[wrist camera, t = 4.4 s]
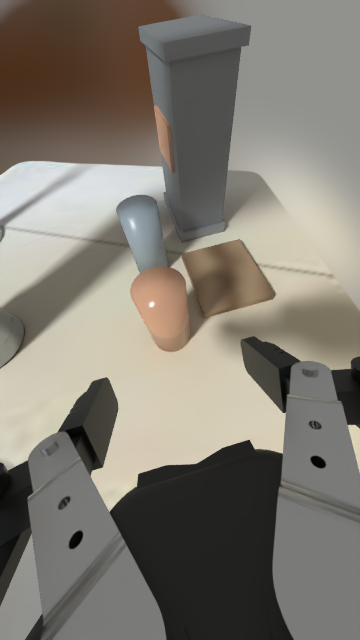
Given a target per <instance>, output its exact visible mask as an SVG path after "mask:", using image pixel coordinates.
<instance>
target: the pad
mask: <svg viewBox="0 0 360 640" xmlns="http://www.w3.org/2000/svg"><path fill="white" fill-rule="evenodd" d="M182 260H183V262H184V265H185V267H186V270H187V273H188V275H189V278H190V280H191V283H192V286H193V288H194V291H195V293H196V296H197V299H198V301H199V304H200V306H201V309H202V312H203V314H204V317H205V318H206V317H210V316H213V315H217V314H221V313H224V312H228V311H231V310H235V309H239V308H242V307H246V306H249V305H253V304H257V303H260V302H264V301H268V300H271V299H273V298H274V296H275V294H274V292H273V291H272V289H271V288H270V286H269V284H268V283H267V281H266V280H265V278H264V277H263V275H262V273H261V272H260V270H259V269H258V267H257V266H256V264H255V263H254V261H253V259H252V258H251V256H250V255H249V253H248V252H247V250H246V248H245V247H244V245H243V244H242V242H241V241H240V239H238V240H234V241H230V242H226V243H222V244H219V245H215V246H211V247H207V248H203V249H199V250H195V251H191V252H187V253H183V254H182Z"/></svg>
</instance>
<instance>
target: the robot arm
mask: <svg viewBox="0 0 360 640" xmlns="http://www.w3.org/2000/svg"><path fill="white" fill-rule="evenodd" d="M23 336H24V327H23V324H22V323H21V321H20V320H19V319H18V318H16V317H14V316H13V315H11V314H9V313H8V312H6V311H4V310H3V309H1V308H0V367H2V366H3V365H4V364H5V363H6V362H8V361H9V360H10V359H11V358H12V356H13V355H14V354H15V353H16V351H17V350H18V349H19V347H20V345H21V343H22V340H23ZM241 348H242V354H243V360H244V365H245V368H246V370H247V372H248V374H249V375H250V376H251V377H252V378H253V379H254V380H255V381H256V383H257V384H258V385H259V386H260V387H261V388H262V389H263V391H264V392H265V393H266V394H267V395H268V396H269V397H270V398H271V400H272V401H273V402H274V403H275V404H276V405H277V406H278V408H279V409H280V410H281V411H282V412H283V413H285V412H286V420H285V434H284V448H283V454H282V453H278V452H275V451H270V450H263V449H254V447H253V445H252V444H251V442H250V440H247V441H244V442H240V443H237V444H234V445H231V446H227V447H224V448H222V449H220V450H219V451H217V452H215V453H214V454H212V455H210V456H209V457H207V458H206V459H204V460H202V461H201V462H199V463H197V464H190V465H166V466H163V467H159V468H156V469H153V470H150V471H146V472H143V473H140V474H138V483H137V487H135V488H134V489H132V490H131V491H130V492H128V493H127V494H126V495H125V496H124V497H123V498H122V499H121V500H120V501H119V502H118V503H117V504H116V505H115V506H114V507H113V508H112V510H111V511H110V512H109V511H108V509H107V507H106V505H105V503H104V501H103V500H102V498H101V496H100V494H99V492H98V490H97V488H96V486H95V484H94V482H93V481H92V479H91V477H90V476H91V472H92V470H96V469H99V468H102V467H103V465H104V461H105V457H106V454H107V450H108V446H109V443H110V439H111V435H112V431H113V428H114V424H115V420H116V417H117V413H118V402H117V398H116V396H115V393H114V391H113V388H112V386H111V384H110V381H109V379H108V378H107V377H106V378H102V379H99V380H95V381H93V382H92V383H91V385H90V387H89V388H88V390H87V392H85V393H84V394H83V395H82V396H80V397H79V398H78V399H77V401H76V403H75V404H74V406H73V408H72V409H71V411H70V414H68V416H67V418H66V419H65V421H64V422H63V424H62V426H61V427H60V429H59V431H58V432H57V433H55V434H53V435H51V436H49V437H47V438H46V439H44V440H43V441H42V442H40V443H39V444H38V445H37V446H36V447H35V448H34V449H33V451H32V452H31V454H30V455H29V458H28V461H26V462H24V463H22V464H20V465H18V466H16V467H14V468H12V469H10V470H7V469H6V467H5V466H4V464H3V463H0V605H1V603H2V601H3V599H4V596H5V594H6V592H7V589H8V587H9V584H10V582H11V580H12V577H13V575H14V573H15V570H16V568H17V566H18V563H19V561H20V559H21V557H22V554H23V552H24V550H25V547H26V545H27V543H28V541H29V538H30V536H31V534H32V538H33V546H34V553H35V560H36V568H37V576H38V583H39V590H40V598H41V606H42V615H41V616H40V618H39V619H38V621H37V623H36V624H35V625H34V627H33V629H32V630H31V632H30V633H29V635H28V636H27V638H26V639H25V640H360V473H359V469H358V465H357V461H356V457H355V453H354V449H353V445H352V441H351V437H350V433H349V429H348V425H356V426H357V427H359V428H360V357H356V358H354V359H353V360H352V361H351V369H343V370H330V369H329V368H328V367H327V366H325V365H323V364H321V363H318V362H312V361H303V362H301V361H300V360H298V359H297V358H295V357H293V356H292V355H290V354H289V353H287V352H285V351H284V350H282V349H280V348H279V347H278V346H276V345H275V344H272V343H268V342H262V341H260V340H259V339H257V338H256V337H254V336H253V337H249V338H246V339H242V340H241Z"/></svg>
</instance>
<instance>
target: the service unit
mask: <svg viewBox="0 0 360 640" xmlns="http://www.w3.org/2000/svg"><path fill="white" fill-rule="evenodd" d="M250 31H251V26H250V25H246V24H242V23H237V22H232V21H228V20H224V19H219V18H215V17H210V16H206V15H197V16H192V17H187V18H181V19H176V20H171V21H166V22H161V23H155V24H150V25H144V26H140V27H139V33H140V39H141V42H143V43H144V44H145V45H146V49H147V57H148V64H149V72H150V79H151V86H152V93H153V100H154V109H155V116H156V122H157V129H158V138H159V144H160V151H161V158H162V165H163V173H164V180H165V187H166V192H164V199H165V202H166V205H167V207H168V209H169V212H170V214H171V217H172V219H173V222H174V224H175V227H176V229H177V232H178V234H179V237H180V239H181V241H182V242H183V241H187V240H191V239H195V238H199V237H203V236H207V235H211V234H215V233H219V232H223V231H224V229H225V222H224V221H223V219H222V214H223V205H224V196H225V187H226V178H227V169H228V160H229V151H230V141H231V132H232V124H233V115H234V106H235V97H236V89H237V80H238V71H239V62H240V53H241V47H242V46H247V45H249V39H250Z"/></svg>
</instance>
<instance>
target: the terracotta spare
mask: <svg viewBox="0 0 360 640" xmlns="http://www.w3.org/2000/svg"><path fill="white" fill-rule="evenodd" d="M130 293H131V298H132V300H133V302H134V304H135V306H136V307H137V309H138V311H139V313H140V315H141V317H142V319H143V321H144V323H145V325H146V327H147V328H148V330H149V332H150V334H151V336H152V338H153V340H154V342H155V344H156V345H157V346H158V347H159V348H160V349H162V350H164V351H168V352H173V351H177V350H180V349H182V348H183V347H184V346H185V345H186V344H187V343H188V341H189V338H190V325H189V314H188V302H187V291H186V282H185V279H184V277H183V276H182V274H181V273H180V272H178V271H177V270H175V269H173V268H170V267H165V266H158V267H153V268H149V269H147V270H145V271H143V272H142V273H140V274H139V275H138V276H137V277H136V278H135V279H134V281H133V283H132V285H131V290H130Z"/></svg>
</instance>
